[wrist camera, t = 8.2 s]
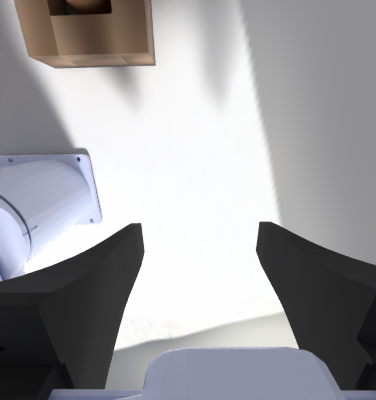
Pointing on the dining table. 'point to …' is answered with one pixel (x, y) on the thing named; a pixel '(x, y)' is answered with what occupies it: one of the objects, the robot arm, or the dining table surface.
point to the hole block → (87, 34)
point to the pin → (91, 6)
